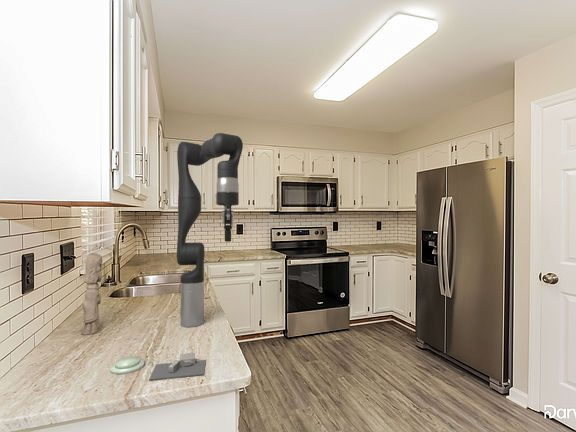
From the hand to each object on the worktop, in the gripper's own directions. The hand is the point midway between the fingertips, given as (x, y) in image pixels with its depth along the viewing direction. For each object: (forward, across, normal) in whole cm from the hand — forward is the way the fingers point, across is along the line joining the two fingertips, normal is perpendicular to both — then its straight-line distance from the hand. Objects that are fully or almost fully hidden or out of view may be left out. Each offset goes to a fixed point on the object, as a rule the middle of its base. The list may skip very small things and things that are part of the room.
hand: (227, 241), depth 110 cm
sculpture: (+35, -23, -51) cm, 66 cm away
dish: (+35, +12, -29) cm, 47 cm away
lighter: (+34, +11, -14) cm, 38 cm away
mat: (+35, +18, -14) cm, 42 cm away
